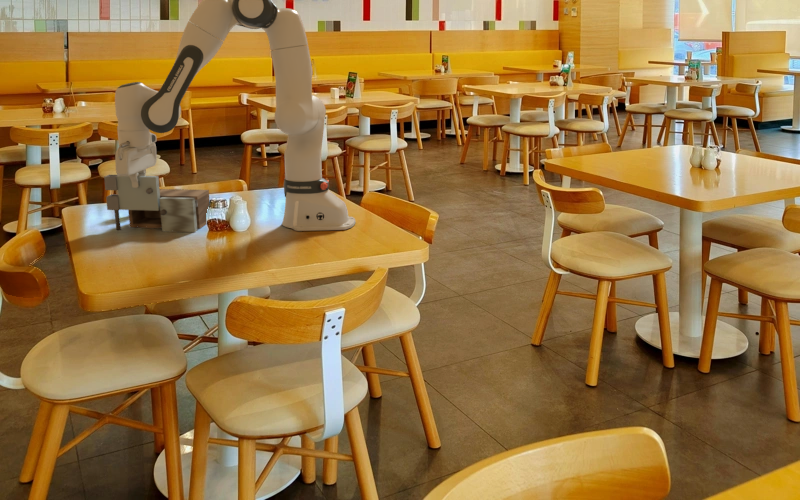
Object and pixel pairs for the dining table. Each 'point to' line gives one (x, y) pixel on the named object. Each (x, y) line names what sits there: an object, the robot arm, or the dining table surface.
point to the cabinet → (173, 212)
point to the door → (133, 193)
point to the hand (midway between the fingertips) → (138, 186)
